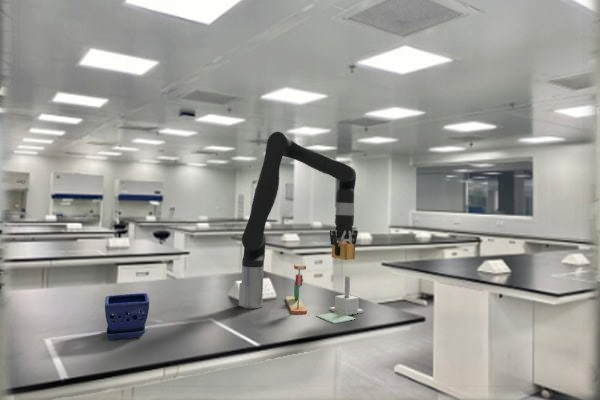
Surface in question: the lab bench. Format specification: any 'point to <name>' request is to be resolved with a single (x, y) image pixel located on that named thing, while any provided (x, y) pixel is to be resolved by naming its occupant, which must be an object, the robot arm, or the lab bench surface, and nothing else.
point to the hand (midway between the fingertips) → (342, 255)
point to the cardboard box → (345, 251)
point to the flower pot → (126, 315)
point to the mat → (335, 317)
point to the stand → (346, 301)
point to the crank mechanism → (296, 294)
